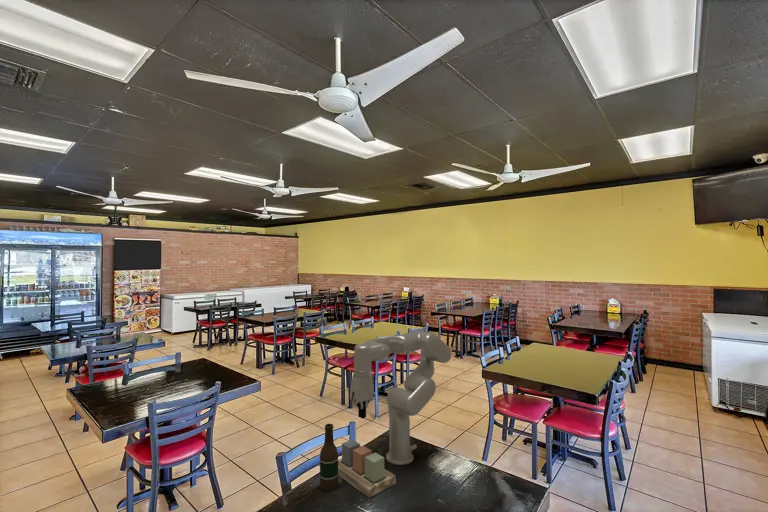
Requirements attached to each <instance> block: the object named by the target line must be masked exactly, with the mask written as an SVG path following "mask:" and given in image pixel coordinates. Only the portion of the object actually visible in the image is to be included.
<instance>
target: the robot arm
mask: <svg viewBox="0 0 768 512" xmlns="http://www.w3.org/2000/svg"><path fill="white" fill-rule="evenodd" d="M416 350H420V362H419V364H418V365H417V367H416V368H415V369H414V370H413V371H412V372H411V373H410V374H409V375H408V376H407V377H406V378H405V380H404V382H403V387H404V388H401V387H394V388H391V389H390V390H389V391H388V393H387V397H386V402H387V409H388V421H389V422H388V423H389V425H388V426H389V427H388V429H389V431H388V432H389V433H388V435H389V439H388V440H389V446H388V448H389V451H388V452H387V453H386V455H385V459H386V461H387V462H388V463H390V464H391V465H396V466H404V465H408V464H410V463H412V462H413V460H414V454H413V450H416V449H417V448H418V446H417V444H412V445H411V431H410V430H411V427H410V425H411V423H410V422H411V421H410V420H411V419H410V416H411V417H413V416H416V415H417V414H419V413H420V412H421V411H422V410H423V409H424V408H425V406H426V405H427V404H428V403H429V402H430V401H431V399H432V398H433V397H434V395H435V392H436V388H437V387H436V386H437V385H436V382H435V380H434V379H433V378H432V377H433V376H434V375H435V362H437V363H441V364H445V363H448V362H449V361H450V360H451V359H452V350H451V348H450V346H449V345H447V344H446V342H444V341H443V340H442V339H441V338H440V337H439V336H438V335H436V334H435V333H433V332H429V331H424V330H415V331H412V332H407V333H405V334H398V335H390V336H389V335H388V336H381V337H376V338H372V339H368V340H366V341H364V342H363V343H360V344H359V343H358V344H356V345H355V346H354V349H353V352H354V354H353V355H354V357H353V359H354V360H353V377H352V379H351V383H350V393H349V400H350V401H351V406H354V407H357V410H358V415H357V416H358V417H359V418H361V419H365V418H367V408H368V406H369V404H370V403H371V402H372V401H373V398H374V394H375V393H374V391H375V389H374V388H375V387H374V379H373V375H372V373H373V372H374V371H373V368H372V362H382V361H385V360H387V359H388V358H389V356H390V354H398V355H399V354H406V353H410V352H412V351H416Z"/></svg>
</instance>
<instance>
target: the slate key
mask: <svg viewBox="0 0 768 512" xmlns="http://www.w3.org/2000/svg"><path fill="white" fill-rule="evenodd" d="M359 447H361V444H360V443H359V442H357V441H356V440H353V439H350V440H347V441H345V442H343V443H341V459H342V462H343V463H344V464H346V465H347V467H349V468H350V467H353V450H354V449H357V448H359Z"/></svg>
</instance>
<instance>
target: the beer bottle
mask: <svg viewBox="0 0 768 512" xmlns="http://www.w3.org/2000/svg"><path fill="white" fill-rule="evenodd" d="M338 460H339V452H338V448H337V445H336V444H335V443H334V423H333V424H332V423H326V424H325V425H324V443H323V446H322V447H321V449H320V451H319V486H320V488H319V489H321V490H322V491H326V492H329V491H334V490H335V489H337V488H338V486H339V476H338Z"/></svg>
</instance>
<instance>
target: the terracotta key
mask: <svg viewBox="0 0 768 512" xmlns="http://www.w3.org/2000/svg"><path fill="white" fill-rule="evenodd" d="M371 454H373V451H372V449H369V448H368V447H366V446H365V445H361V446H360V447H359V448H357V449H354V450H353V466H352V467H353V470H355V471H356V472H358V474H359V475H361V476H362V475H364V474H365V457H366V456H369V455H371Z"/></svg>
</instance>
